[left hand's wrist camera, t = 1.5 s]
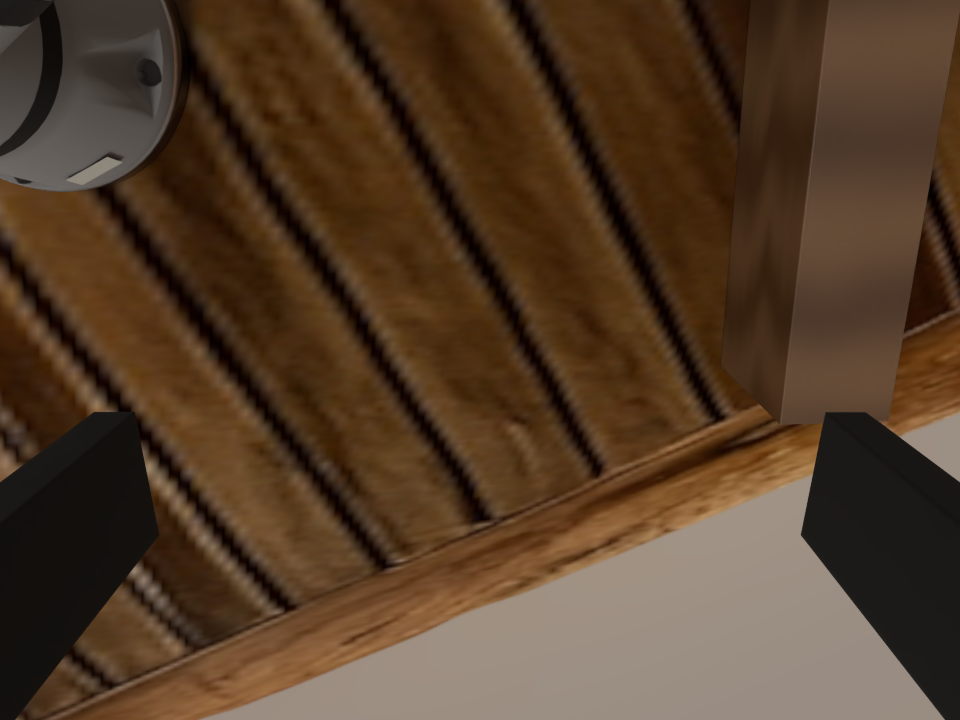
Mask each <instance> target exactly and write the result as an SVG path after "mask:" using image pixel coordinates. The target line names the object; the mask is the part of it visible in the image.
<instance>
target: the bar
mask: <svg viewBox="0 0 960 720" xmlns="http://www.w3.org/2000/svg"><path fill="white" fill-rule="evenodd" d="M959 13H960V0H750V12H749V25H748V37H747V49H746V62H745V74H744V87H743V99H742V111H741V124H740V136H739V149H738V161H737V173H736V186H735V198H734V211H733V223H732V235H731V248H730V260H729V273H728V285H727V297H726V310H725V322H724V335H723V347H722V359H721V367H722V368H724V369H725V370H726V371H727V372H728V373H729V374H730V375H731V376H732V377H733V378H734V379H735V380H736V381H737V382H738V383H739V384H740V385H741V386H742V387H743V388H744V389H745V390H746V391H747V392H748V393H749V394H750V395H751V396H752V397H753V398H754V399H755V400H756V401H757V402H758V403H759V404H760V405H761V406H762V407H763V408H764V409H765V410H766V411H767V412H768V413H769V414H770V415H771V416H772V417H773V418H774V419H775V420H776V421H777V422H778V423H779V424H809V423H823V422H824V417H825V412H866V413H868V414H869V415H870V416H872V417H873V418H874V419H876V420H877V421H888V419H889V413H890V408H891V402H892V396H893V391H894V385H895V379H896V373H897V368H898V362H899V356H900V351H901V345H902V339H903V333H904V328H905V322H906V316H907V310H908V305H909V299H910V293H911V288H912V282H913V276H914V270H915V265H916V259H917V253H918V248H919V242H920V236H921V230H922V225H923V219H924V213H925V208H926V202H927V196H928V190H929V185H930V179H931V173H932V168H933V162H934V156H935V150H936V145H937V139H938V133H939V127H940V122H941V116H942V110H943V105H944V99H945V93H946V87H947V82H948V76H949V70H950V65H951V59H952V53H953V47H954V42H955V36H956V30H957V25H958V19H959Z"/></svg>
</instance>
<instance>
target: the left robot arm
mask: <svg viewBox="0 0 960 720" xmlns="http://www.w3.org/2000/svg"><path fill="white" fill-rule="evenodd" d="M187 87H188V54H187V47H186V40H185V35H184V31H183V27H182V23H181V20H180V17H179V14H178V11H177V8H176V6H175V4H174V1H173V0H0V178H1V179H3V180H6V181H9V182H12V183H15V184H18V185H22V186H26V187H30V188H34V189H40V190H46V191H57V192H68V191H80V190H87V189H95V188H102V187H106V186H110V185H113V184H116V183H119V182H121V181H124V180H126V179H128V178H130V177H132V176H134V175H135V174H137V173H138V172H140V171H141V170H143V169H144V168H145V167H147V166H148V165H149V164H150V163H151V162H153V161H154V160H155V158H156V157H157V156H158V155H159V154H160V153H161V152H162V151H163V149H164V148H165V147H166V145H167V144H168V142H169V141H170V139H171V137H172V136H173V134H174V132H175V130H176V128H177V125H178V123H179V121H180V118H181V115H182V112H183V109H184V104H185V100H186V95H187ZM158 536H159V532H158V527H157V522H156V517H155V512H154V507H153V502H152V497H151V492H150V487H149V482H148V477H147V472H146V467H145V462H144V457H143V452H142V447H141V442H140V437H139V432H138V427H137V422H136V417H135V412H94V413H92V414H91V415H90V416H88V417H87V418H86V419H84V420H83V421H82V422H80V423H79V424H78V425H76V426H75V427H74V428H72V429H71V430H70V431H68V432H67V433H66V434H64V435H63V436H62V437H60V438H59V439H58V440H56V441H55V442H54V443H52V444H51V445H50V446H48V447H47V448H45V449H44V450H43V451H41V452H40V453H39V454H37V455H36V456H35V457H33V458H32V459H31V460H29V461H28V462H27V463H25V464H24V465H23V466H21V467H20V468H19V469H17V470H16V471H15V472H13V473H12V474H11V475H9V476H8V477H7V478H5V479H4V480H3V481H1V482H0V720H15V719H16V718H17V717H18V715H19V714H20V713H21V711H22V710H23V709H24V708H25V706H26V705H27V704H28V702H29V701H30V700H31V699H32V697H33V696H34V695H35V694H36V692H37V691H38V690H39V688H40V687H41V686H42V685H43V683H44V682H45V681H46V679H47V678H48V677H49V676H50V674H51V673H52V672H53V670H54V669H55V668H56V667H57V665H58V664H59V663H60V661H61V660H62V659H63V658H64V656H65V655H66V654H67V652H68V651H69V650H70V649H71V647H72V646H73V645H74V644H75V642H76V641H77V640H78V638H79V637H80V636H81V635H82V633H83V632H84V631H85V629H86V628H87V627H88V626H89V624H90V623H91V622H92V620H93V619H94V618H95V617H96V615H97V614H98V613H99V611H100V610H101V609H102V608H103V606H104V605H105V604H106V602H107V601H108V600H109V599H110V597H111V596H112V595H113V594H114V592H115V591H116V590H117V588H118V587H119V586H120V585H121V583H122V582H123V581H124V579H125V578H126V577H127V576H128V574H129V573H130V572H131V570H132V569H133V568H134V567H135V565H136V564H137V563H138V561H139V560H140V559H141V558H142V556H143V555H144V554H145V552H146V551H147V550H148V549H149V547H150V546H151V545H152V544H153V542H154V541H155V540H156V538H157V537H158ZM801 536H802V537H803V538H804V540H805V541H806V542H807V544H808V545H809V546H810V547H811V549H812V550H813V551H814V552H815V554H816V555H817V556H818V558H819V559H820V560H821V561H822V563H823V564H824V565H825V567H826V568H827V569H828V570H829V572H830V573H831V574H832V576H833V577H834V578H835V579H836V581H837V582H838V583H839V585H840V586H841V587H842V588H843V590H844V591H845V592H846V594H847V595H848V596H849V597H850V599H851V600H852V601H853V602H854V604H855V605H856V606H857V608H858V609H859V610H860V611H861V613H862V614H863V615H864V617H865V618H866V619H867V620H868V622H869V623H870V624H871V626H872V627H873V628H874V629H875V631H876V632H877V633H878V635H879V636H880V637H881V638H882V640H883V641H884V642H885V644H886V645H887V646H888V647H889V649H890V650H891V651H892V652H893V654H894V655H895V656H896V658H897V659H898V660H899V661H900V663H901V664H902V665H903V667H904V668H905V669H906V670H907V672H908V673H909V674H910V676H911V677H912V678H913V679H914V681H915V682H916V683H917V685H918V686H919V687H920V688H921V690H922V691H923V692H924V693H925V695H926V696H927V697H928V699H929V700H930V701H931V702H932V704H933V705H934V706H935V708H936V709H937V710H938V711H939V713H940V714H941V715H942V716H943V718H944V719H945V720H960V482H959V481H957V480H956V479H955V478H953V477H952V476H951V475H949V474H948V473H947V472H945V471H944V470H943V469H941V468H940V467H939V466H937V465H936V464H935V463H933V462H932V461H931V460H929V459H928V458H927V457H925V456H924V455H922V454H921V453H920V452H919V451H917V450H916V449H915V448H913V447H912V446H910V445H909V444H908V443H906V442H905V441H904V440H902V439H901V438H900V437H898V436H897V435H896V434H894V433H893V432H892V431H890V430H889V429H888V428H886V427H885V426H884V425H882V424H881V423H880V422H878V421H877V420H876V419H874V418H873V417H872V416H870V415H869V414H868V413H866V412H825V417H824V422H823V427H822V432H821V437H820V442H819V447H818V452H817V457H816V462H815V467H814V472H813V477H812V482H811V487H810V492H809V497H808V502H807V507H806V512H805V517H804V522H803V527H802V532H801Z"/></svg>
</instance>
